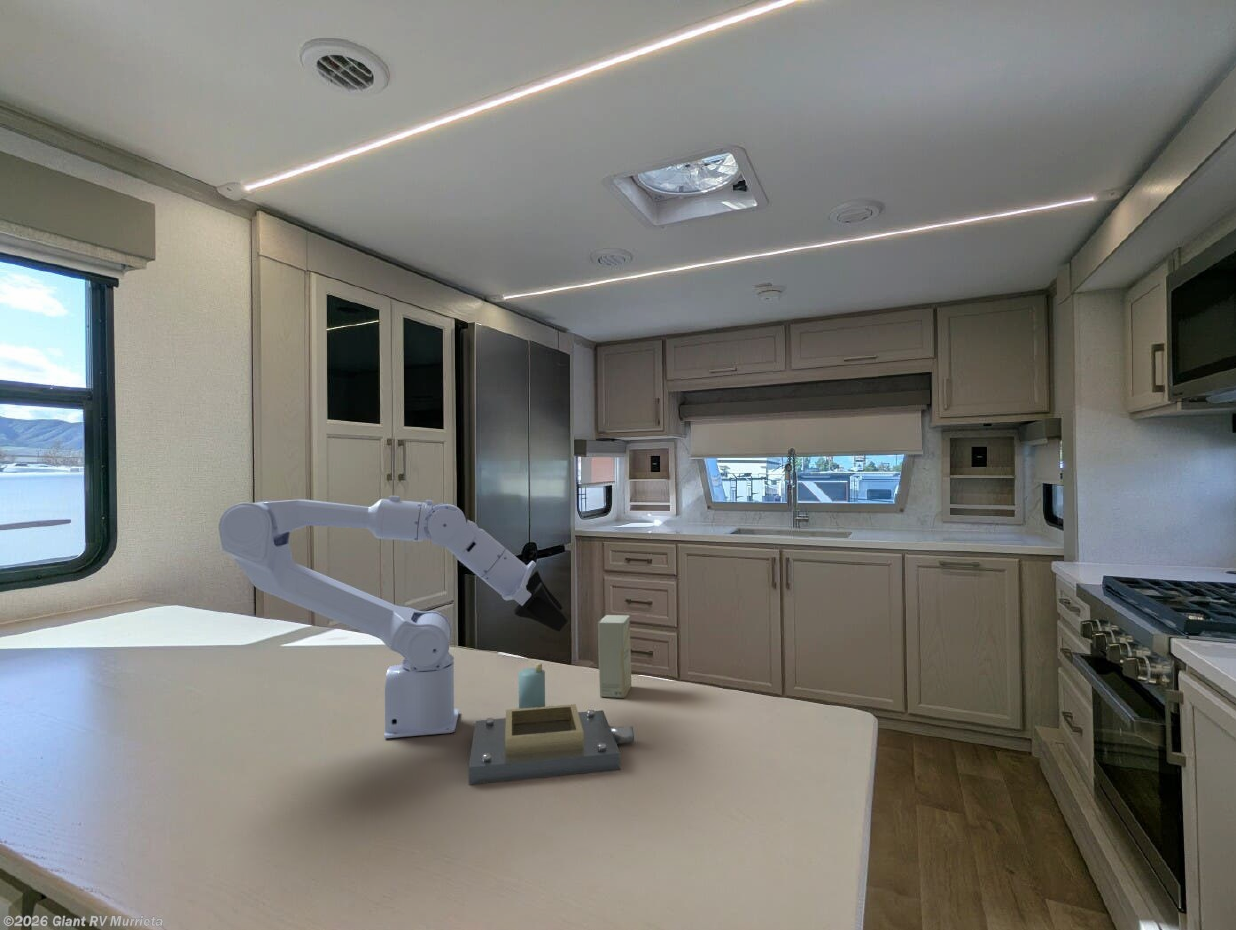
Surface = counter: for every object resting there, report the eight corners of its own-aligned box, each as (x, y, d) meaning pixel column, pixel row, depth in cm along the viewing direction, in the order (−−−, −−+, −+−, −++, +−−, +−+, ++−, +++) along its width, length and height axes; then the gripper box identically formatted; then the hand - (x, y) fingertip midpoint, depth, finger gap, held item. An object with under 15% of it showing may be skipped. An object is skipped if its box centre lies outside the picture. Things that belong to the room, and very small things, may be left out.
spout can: (519, 717, 91) (518, 669, 91) (518, 708, 95) (518, 661, 95) (545, 715, 91) (545, 667, 92) (544, 706, 95) (544, 659, 95)
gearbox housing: (468, 784, 71) (468, 749, 71) (475, 735, 85) (475, 706, 85) (644, 767, 75) (643, 734, 75) (623, 722, 88) (623, 694, 88)
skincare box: (625, 699, 98) (623, 623, 98) (598, 697, 99) (597, 622, 99) (631, 685, 104) (630, 614, 104) (606, 684, 105) (605, 613, 105)
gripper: (511, 550, 85) (584, 610, 87) (509, 535, 99) (572, 588, 101) (477, 589, 84) (551, 649, 86) (480, 569, 98) (544, 621, 100)
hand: (560, 618), depth 93 cm, fingers open, 7 cm apart
